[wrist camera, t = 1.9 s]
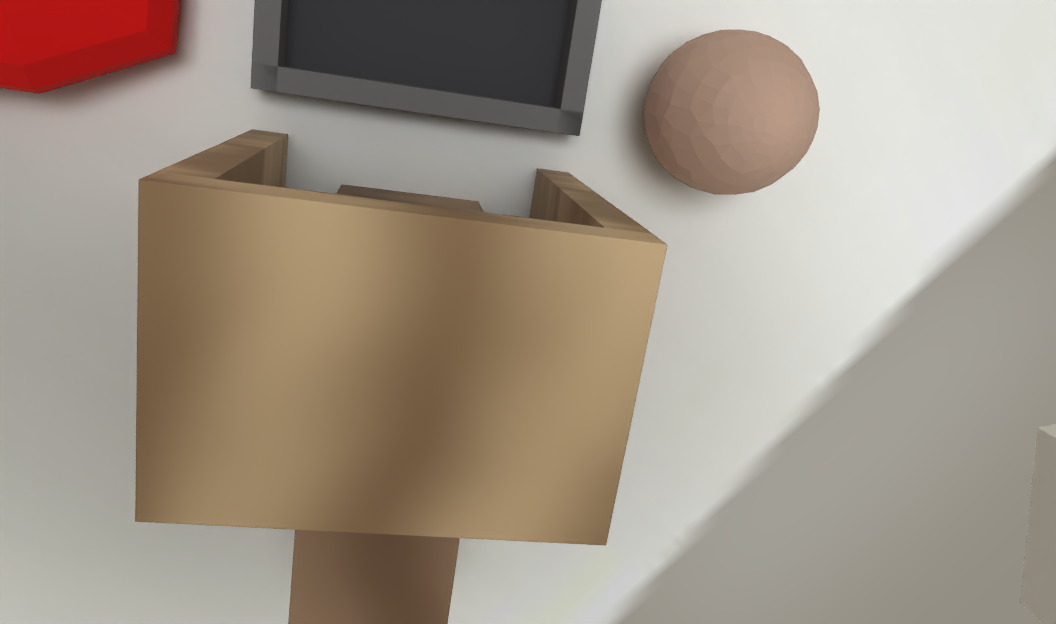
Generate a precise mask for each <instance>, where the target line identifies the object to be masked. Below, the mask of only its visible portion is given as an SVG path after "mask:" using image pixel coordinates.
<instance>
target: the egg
mask: <svg viewBox="0 0 1056 624" xmlns="http://www.w3.org/2000/svg"><path fill="white" fill-rule="evenodd" d="M819 110H820V109H819V101H818V93H817V90H816V87H815V85H814V83H813V80H812V78H811V76H810V74H809V72H808V71H807V69H806V67H805V65H804V64H803V62H802V60H801V59H800V58H799V57H798V56H797V55H796V54H795V53H794V52H793V51H792V50H791V49H790V48H789V47H788V46H786V45H785V44H783V43H781V42H779V41H778V40H776V39H774V38H772V37H771V36H768V35H765V34H762V33H758V32H755V31H746V30H719V31H715V32H712V33H708V34H704V35H701V36H699V37H697V38H695V39H692V40H690V41H688V42H686V43H685V44H684V45H682V46H681V47H680V48H678V49H677V50H676V51H674V52H673V53H672V54H670V55H669V57H668V58H667V59H666V60H665V61H664V62H663V64H662V65H661V66H660V68H659V70H658V71H657V73H656V75H655V76H654V78H653V80H652V81H651V84H650V87H649V90H648V93H647V98H646V103H645V108H644V119H645V131H646V135H647V138H648V142H649V144H650V147H651V149H652V151H653V153H654V154H655V156H656V158H657V159H658V161H659V162H660V163H661V165H662V166H663V167H664V168H665V169H666V170H667V171H668V172H669V173H670V174H671V175H672V176H674V177H675V178H676V179H678V180H680V181H681V182H683V183H685V184H686V185H688V186H690V187H692V188H695V189H699V190H702V191H705V192H709V193H712V194H742V193H749V192H755V191H757V190H759V189H762V188H764V187H766V186H769V185H771V184H773V183H774V182H776V181H777V180H778V179H780V178H781V177H783V176H784V175H785V174H786V173H788V172H789V171H790V170H792V169H793V168H794V167H795V166H796V165H797V164H798V163H799V161H800V160H801V159H802V158H803V157H804V155H805V154H806V153H807V151H808V149H809V147H810V145H811V143H812V141H813V139H814V136H815V133H816V130H817V127H818V118H819Z"/></svg>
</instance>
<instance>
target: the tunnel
mask: <svg viewBox="0 0 1056 624" xmlns="http://www.w3.org/2000/svg"><path fill="white" fill-rule="evenodd" d="M287 140H288V134H281V133H274V132H266V131H259V130H250V131H248V132H246V133H244V134H241V135H239V136H237V137H235V138H232V139H230V140H228V141H225V142H223V143H221V144H219V145H216V146H214V147H212V148H210V149H207V150H205V151H203V152H201V153H198V154H196V155H194V156H191V157H189V158H187V159H185V160H182V161H180V162H178V163H176V164H173V165H171V166H169V167H166V168H164V169H162V170H160V171H157V172H155V173H153V174H151V175H148V176H146V177H144V178H142V179H139V206H138V308H137V410H136V512H135V521H137V522H157V523H176V524H196V525H215V526H235V527H255V528H274V529H294V530H314V531H333V532H353V533H373V534H392V535H412V536H432V537H451V538H471V539H491V540H510V541H530V542H549V543H569V544H589V545H606V543H607V538H608V533H609V528H610V523H611V518H612V513H613V508H614V503H615V499H616V494H617V489H618V484H619V479H620V474H621V469H622V464H623V459H624V454H625V450H626V445H627V440H628V435H629V430H630V425H631V420H632V415H633V410H634V406H635V401H636V396H637V391H638V386H639V381H640V376H641V371H642V366H643V361H644V357H645V352H646V347H647V342H648V337H649V332H650V327H651V322H652V317H653V313H654V308H655V303H656V298H657V293H658V288H659V283H660V278H661V273H662V268H663V264H664V259H665V254H666V249H667V244H666V243H665V242H663V241H662V240H660V239H659V238H658V237H656V236H655V235H653V234H652V233H651V232H649V231H648V230H647V229H645V228H644V227H642V226H641V225H640V224H638V223H637V222H636V221H634V220H633V219H631V218H630V217H629V216H627V215H626V214H625V213H623V212H622V211H620V210H619V209H618V208H616V207H615V206H613V205H612V204H611V203H609V202H608V201H607V200H605V199H604V198H602V197H601V196H600V195H598V194H597V193H596V192H594V191H593V190H591V189H590V188H589V187H587V186H586V185H584V184H583V183H582V182H580V181H579V180H578V179H576V178H575V177H573V176H572V175H571V174H569V173H567V172H560V171H552V170H545V169H538V168H537V172H536V178H535V185H534V191H533V198H532V205H531V211H530V218H523V217H515V216H507V215H499V214H491V213H483V212H475V211H467V210H458V209H450V208H442V207H434V206H426V205H418V204H410V203H402V202H394V201H386V200H378V199H370V198H362V197H354V196H346V195H338V194H330V193H322V192H314V191H306V190H298V189H290V188H285V172H286V156H287Z"/></svg>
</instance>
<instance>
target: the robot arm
mask: <svg viewBox="0 0 1056 624" xmlns="http://www.w3.org/2000/svg"><path fill="white" fill-rule="evenodd" d="M1029 507H1030V508H1029V516H1028V526H1027V536H1026V546H1025V557H1024V566H1023V576H1022V586H1021V596H1020V603H1021V604H1022V605H1023V606H1024V607H1025V608H1026V609H1027V610H1028V611H1029V612H1031V613H1032V614H1033V615H1034V616H1035V617H1036V618H1037V619H1038V620H1040V621H1041V622H1042V623H1043V624H1056V425H1050V426H1044V427H1038V428H1037V438H1036V448H1035V457H1034V467H1033V477H1032V487H1031V497H1030V506H1029Z"/></svg>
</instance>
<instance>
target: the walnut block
mask: <svg viewBox="0 0 1056 624" xmlns="http://www.w3.org/2000/svg"><path fill="white" fill-rule="evenodd" d="M337 194H338V195H346V196H354V197H362V198H370V199H378V200H386V201H394V202H402V203H410V204H418V205H426V206H434V207H442V208H450V209H458V210H467V211H475V212H483V211H482V209H481V207H480V204H479V202H478V201H470V200H462V199H454V198H446V197H438V196H430V195H422V194H414V193H406V192H398V191H390V190H382V189H374V188H366V187H358V186H350V185H341V187H340V189H339V190H338V192H337ZM458 545H459V538H451V537H432V536H412V535H392V534H373V533H353V532H333V531H314V530H295V540H294V554H293V567H292V581H291V595H290V608H289V622H288V624H447V623H448V616H449V609H450V602H451V595H452V588H453V581H454V574H455V566H456V559H457V552H458Z"/></svg>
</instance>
